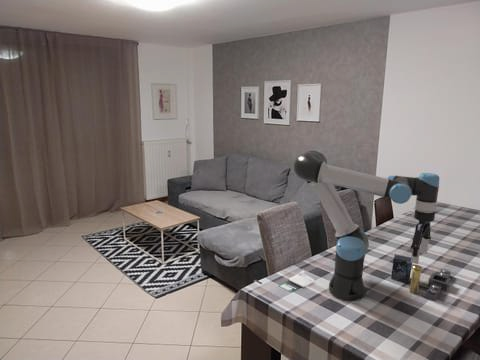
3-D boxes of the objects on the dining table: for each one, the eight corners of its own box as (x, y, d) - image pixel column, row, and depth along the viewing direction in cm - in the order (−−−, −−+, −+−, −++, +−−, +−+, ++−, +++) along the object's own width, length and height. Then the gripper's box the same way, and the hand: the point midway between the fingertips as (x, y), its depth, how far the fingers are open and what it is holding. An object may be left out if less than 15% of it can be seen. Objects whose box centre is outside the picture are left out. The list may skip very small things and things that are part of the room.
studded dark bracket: (440, 302, 144) (441, 295, 143) (420, 296, 149) (421, 288, 148) (454, 277, 166) (455, 270, 165) (437, 272, 170) (438, 266, 170)
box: (390, 278, 163) (393, 258, 161) (392, 273, 168) (394, 253, 166) (409, 283, 160) (412, 262, 157) (410, 278, 164) (412, 257, 162)
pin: (417, 295, 150) (420, 269, 147) (407, 292, 152) (411, 266, 149) (419, 291, 152) (423, 266, 150) (410, 288, 155) (413, 264, 152)
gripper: (427, 219, 132) (420, 270, 137) (442, 205, 151) (435, 251, 155) (406, 215, 137) (400, 264, 142) (423, 202, 156) (417, 246, 160)
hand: (419, 257), depth 149 cm, fingers open, 13 cm apart
